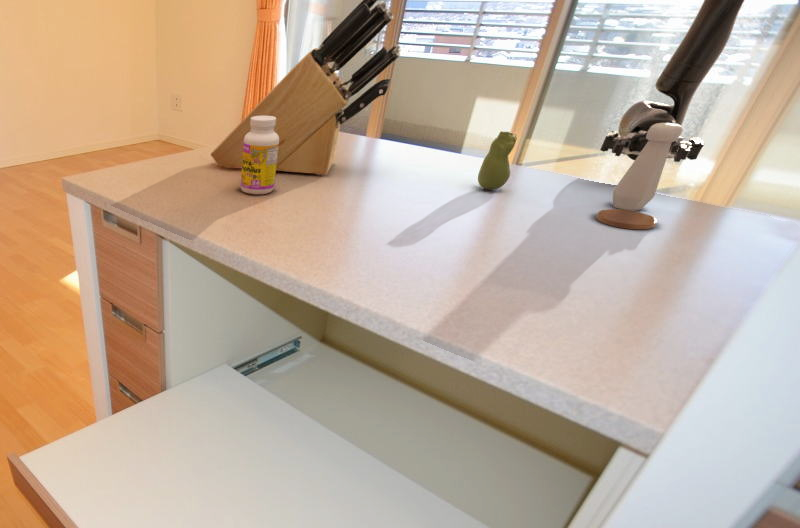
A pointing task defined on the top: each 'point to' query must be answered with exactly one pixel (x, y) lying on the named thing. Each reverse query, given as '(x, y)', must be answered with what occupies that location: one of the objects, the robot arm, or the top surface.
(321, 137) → the knife block
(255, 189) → the supplement bottle
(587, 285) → the top surface
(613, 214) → the coaster
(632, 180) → the salt shaker
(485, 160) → the pear
